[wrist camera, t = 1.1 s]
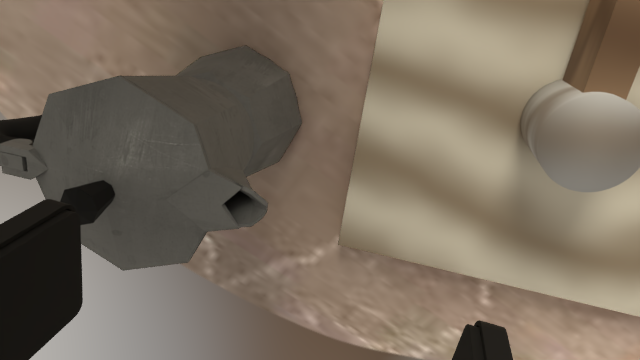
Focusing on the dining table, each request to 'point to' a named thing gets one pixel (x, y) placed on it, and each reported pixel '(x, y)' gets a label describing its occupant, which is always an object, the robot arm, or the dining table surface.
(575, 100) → the dial
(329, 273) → the dining table surface
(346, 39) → the dining table surface
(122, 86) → the coffeepot
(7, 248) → the robot arm
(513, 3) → the dial board
